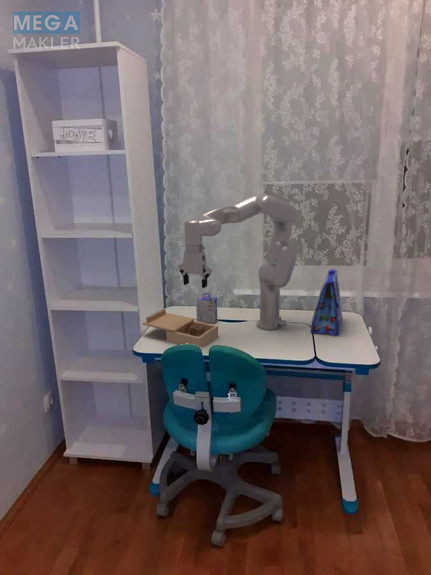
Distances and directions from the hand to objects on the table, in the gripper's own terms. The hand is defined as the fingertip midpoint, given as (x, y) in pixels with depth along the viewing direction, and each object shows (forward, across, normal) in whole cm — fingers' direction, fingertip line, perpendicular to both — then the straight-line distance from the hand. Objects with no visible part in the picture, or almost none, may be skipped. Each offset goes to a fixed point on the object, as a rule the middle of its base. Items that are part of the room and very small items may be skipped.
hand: (195, 285), depth 207 cm
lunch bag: (+27, -46, -44) cm, 69 cm away
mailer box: (+26, +2, 0) cm, 26 cm away
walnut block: (+26, 0, 0) cm, 26 cm away
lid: (+21, +16, 0) cm, 26 cm away
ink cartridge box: (+27, +8, -22) cm, 36 cm away
